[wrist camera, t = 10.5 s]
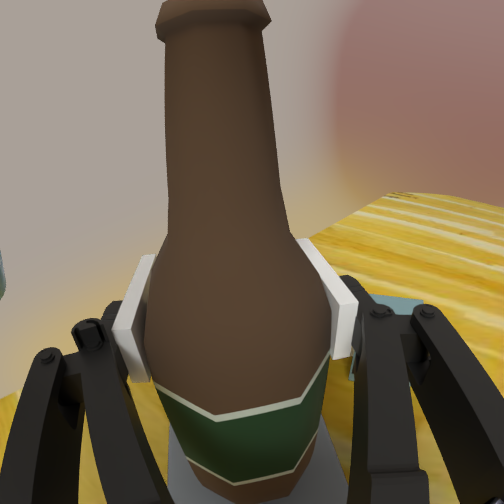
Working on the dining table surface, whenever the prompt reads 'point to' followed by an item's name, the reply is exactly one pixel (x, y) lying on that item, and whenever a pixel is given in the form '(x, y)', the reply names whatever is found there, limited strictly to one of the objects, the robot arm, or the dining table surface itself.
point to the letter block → (399, 307)
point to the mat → (300, 500)
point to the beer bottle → (232, 266)
